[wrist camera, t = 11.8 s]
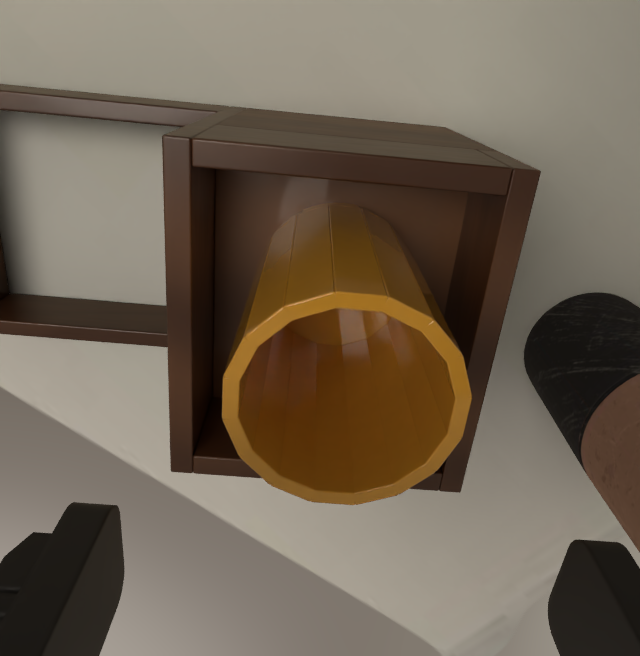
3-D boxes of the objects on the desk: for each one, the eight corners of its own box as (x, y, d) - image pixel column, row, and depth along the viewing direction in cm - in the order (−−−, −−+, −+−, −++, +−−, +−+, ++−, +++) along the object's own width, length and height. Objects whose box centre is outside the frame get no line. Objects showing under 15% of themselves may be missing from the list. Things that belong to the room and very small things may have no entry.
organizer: (-40, 80, 27) (-327, 88, 15) (446, 127, 27) (541, 170, 16) (-3, 304, 31) (-197, 446, 20) (408, 338, 32) (460, 493, 21)
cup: (263, 194, 20) (224, 281, 12) (424, 210, 20) (496, 305, 12) (255, 340, 22) (219, 495, 14) (399, 352, 23) (444, 512, 14)
